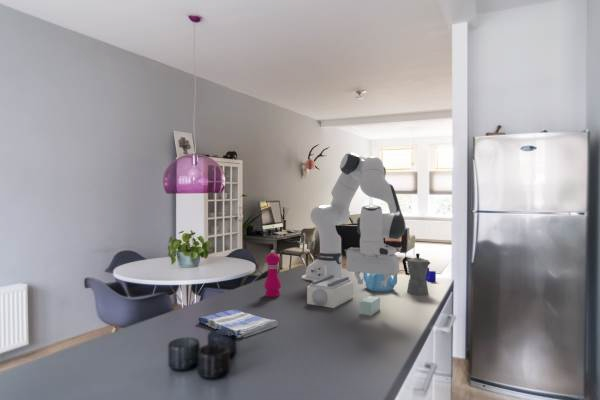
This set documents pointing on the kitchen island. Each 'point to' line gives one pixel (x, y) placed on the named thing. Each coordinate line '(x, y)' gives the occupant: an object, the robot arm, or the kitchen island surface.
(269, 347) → the kitchen island surface
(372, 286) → the teapot
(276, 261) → the pepper mill
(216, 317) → the dish towel
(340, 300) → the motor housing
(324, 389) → the kitchen island surface
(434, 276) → the cable clip
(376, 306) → the pale green block
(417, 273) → the coffeepot
